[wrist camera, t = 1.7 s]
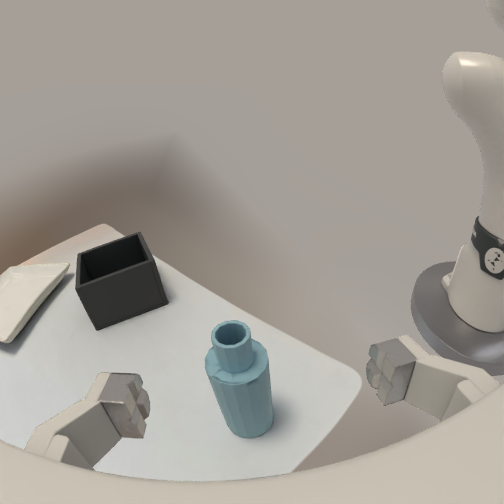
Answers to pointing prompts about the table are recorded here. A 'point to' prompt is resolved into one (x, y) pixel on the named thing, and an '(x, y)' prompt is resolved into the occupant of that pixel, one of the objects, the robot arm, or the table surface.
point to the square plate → (25, 294)
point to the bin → (118, 281)
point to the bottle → (240, 379)
